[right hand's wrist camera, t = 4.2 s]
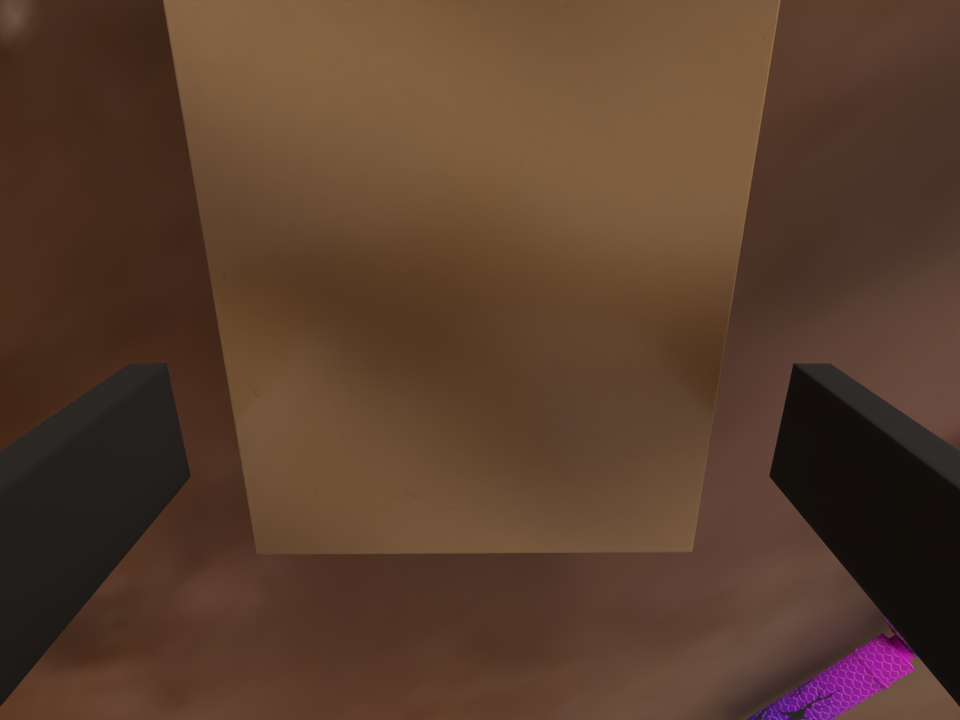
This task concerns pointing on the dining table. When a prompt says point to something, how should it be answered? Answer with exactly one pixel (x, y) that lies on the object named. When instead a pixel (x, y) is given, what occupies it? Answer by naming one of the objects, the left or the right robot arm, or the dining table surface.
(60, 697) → the dining table surface
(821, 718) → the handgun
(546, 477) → the wooden block
